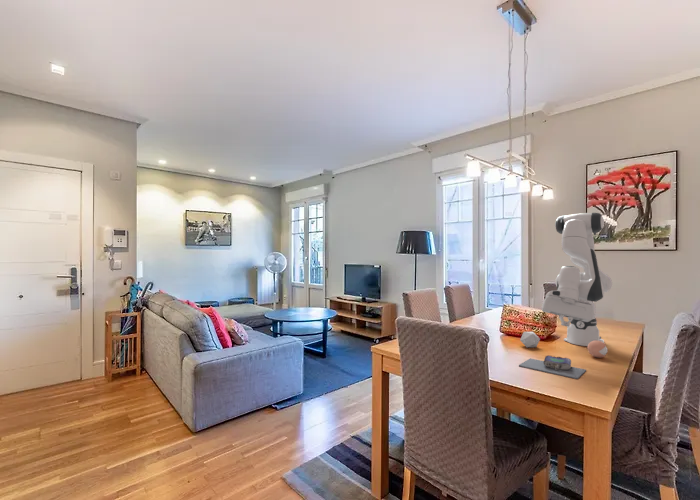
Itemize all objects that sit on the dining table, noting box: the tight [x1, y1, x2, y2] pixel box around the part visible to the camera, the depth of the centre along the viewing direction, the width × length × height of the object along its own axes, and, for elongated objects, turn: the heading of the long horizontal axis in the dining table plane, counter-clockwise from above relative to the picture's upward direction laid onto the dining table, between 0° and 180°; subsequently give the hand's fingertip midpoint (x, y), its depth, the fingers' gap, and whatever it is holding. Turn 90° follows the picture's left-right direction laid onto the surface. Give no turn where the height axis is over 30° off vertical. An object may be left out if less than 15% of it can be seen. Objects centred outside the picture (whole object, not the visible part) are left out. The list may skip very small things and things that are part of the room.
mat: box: [518, 358, 587, 380], centre depth 146 cm, size 14×22×1 cm, turn 43°
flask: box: [543, 355, 572, 370], centre depth 147 cm, size 10×3×12 cm
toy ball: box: [587, 340, 608, 359], centre depth 162 cm, size 8×8×8 cm
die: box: [519, 331, 541, 349], centre depth 181 cm, size 8×9×10 cm
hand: (565, 325), depth 155 cm, fingers closed
